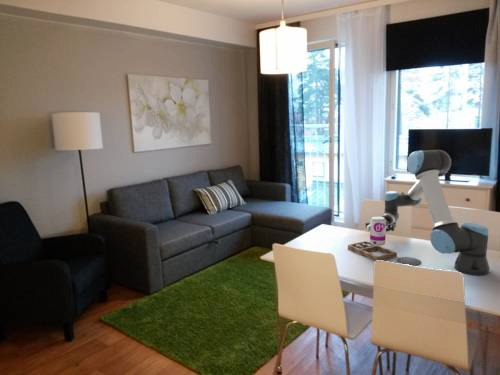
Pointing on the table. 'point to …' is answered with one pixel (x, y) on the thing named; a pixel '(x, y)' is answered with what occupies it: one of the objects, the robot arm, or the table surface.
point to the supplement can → (377, 231)
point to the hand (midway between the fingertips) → (375, 230)
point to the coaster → (408, 261)
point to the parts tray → (367, 247)
